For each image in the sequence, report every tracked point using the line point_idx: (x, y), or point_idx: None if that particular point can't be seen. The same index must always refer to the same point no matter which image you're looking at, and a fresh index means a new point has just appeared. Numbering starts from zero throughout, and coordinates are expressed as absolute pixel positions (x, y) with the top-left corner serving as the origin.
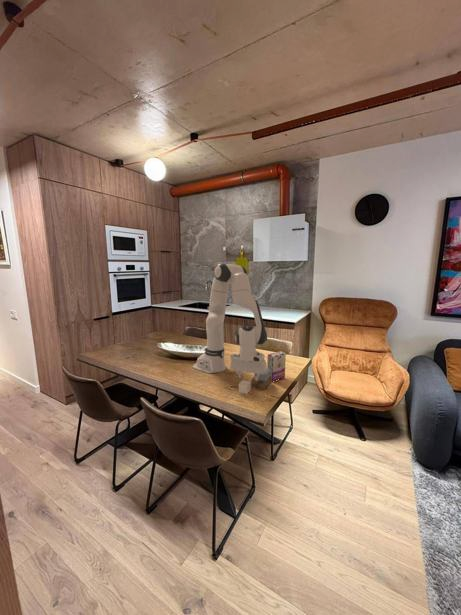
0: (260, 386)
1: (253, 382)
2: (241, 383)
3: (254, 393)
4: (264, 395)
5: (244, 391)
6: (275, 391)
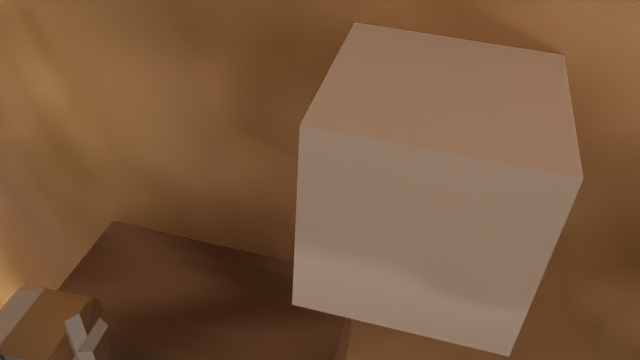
0: (187, 275)
1: (300, 342)
2: (501, 214)
3: (232, 94)
4: (59, 75)
5: (410, 54)
6: (5, 220)
